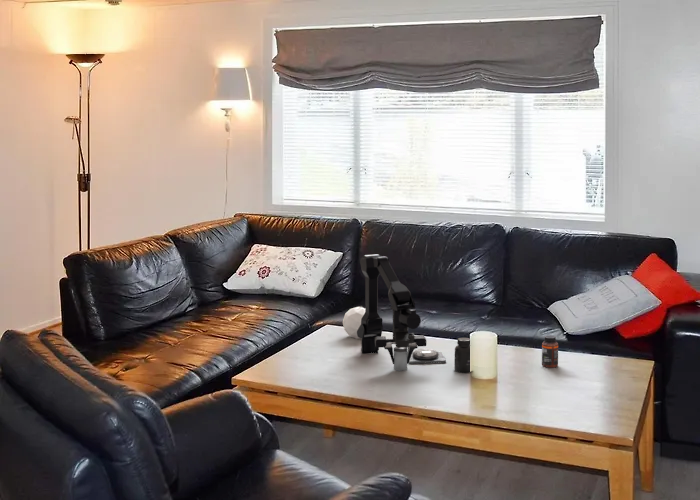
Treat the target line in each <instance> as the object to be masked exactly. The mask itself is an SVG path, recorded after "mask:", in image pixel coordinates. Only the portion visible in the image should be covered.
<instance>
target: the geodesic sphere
mask: <svg viewBox="0 0 700 500" xmlns="http://www.w3.org/2000/svg"><path fill="white" fill-rule="evenodd" d="M364 314H365V307H363V305H360V306H356V307H353V308H349V310H348V311H346V312H345V314H344V317H343V320H342V325H343V329H344V331H345V333H346V334H347V335H348V336H349V337H351V338H353V339H354V338H355V339H356V340H357V339H358V340H359V339H360V338H359V337H358V336H357V330H358V329H359V327H360V325H361V319H362V317H363V315H364Z"/></svg>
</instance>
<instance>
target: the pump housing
mask: <svg viewBox="0 0 700 500" xmlns="http://www.w3.org/2000/svg"><path fill="white" fill-rule="evenodd" d="M407 352H408V347H407V348H405V347H400V348H397V347H396V346H394V347H393V356H394V364H393V370H394V371H397V372H406V371H407V370H408V364H407Z"/></svg>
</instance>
